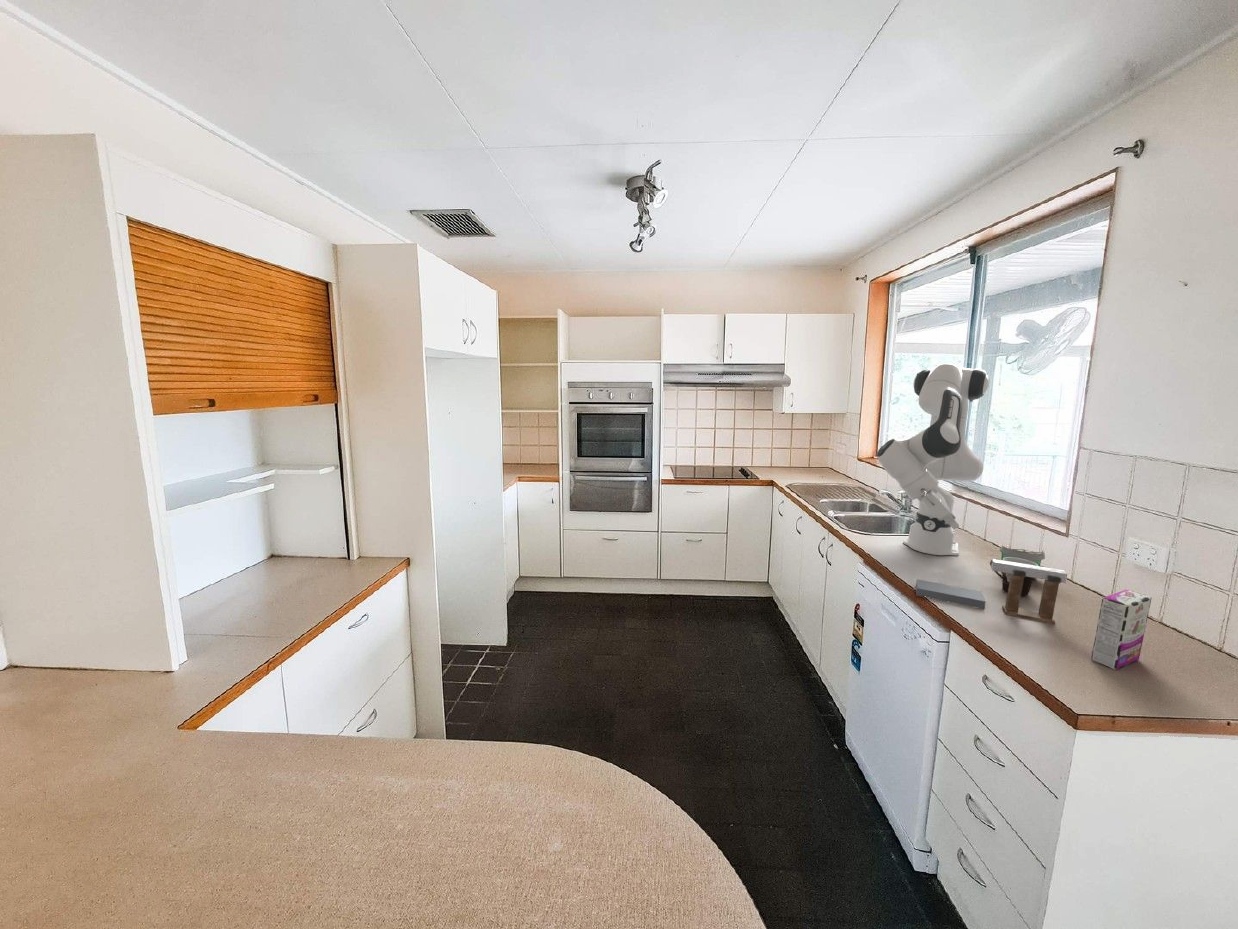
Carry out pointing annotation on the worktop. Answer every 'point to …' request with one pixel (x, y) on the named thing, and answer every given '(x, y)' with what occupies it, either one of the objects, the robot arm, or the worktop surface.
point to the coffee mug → (1006, 576)
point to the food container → (1022, 555)
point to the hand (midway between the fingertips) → (955, 523)
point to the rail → (1028, 570)
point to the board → (950, 593)
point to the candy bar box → (1120, 629)
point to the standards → (1045, 604)
